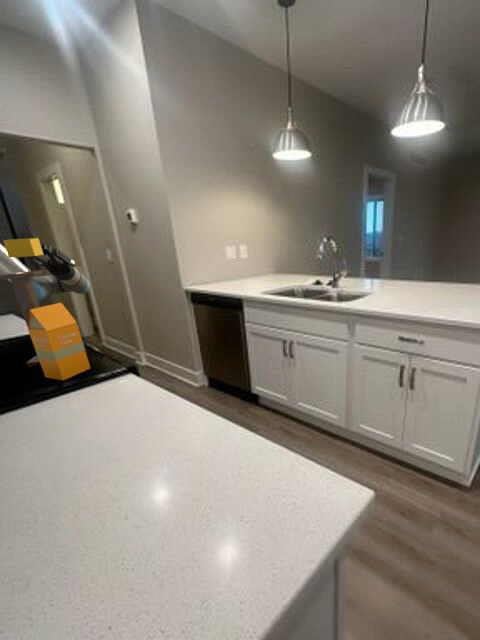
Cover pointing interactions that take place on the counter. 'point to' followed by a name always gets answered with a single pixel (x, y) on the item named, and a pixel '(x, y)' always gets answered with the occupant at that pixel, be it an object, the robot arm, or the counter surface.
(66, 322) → the orange juice
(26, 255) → the yellow rectangular block
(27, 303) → the tall stand
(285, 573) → the counter surface
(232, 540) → the counter surface
